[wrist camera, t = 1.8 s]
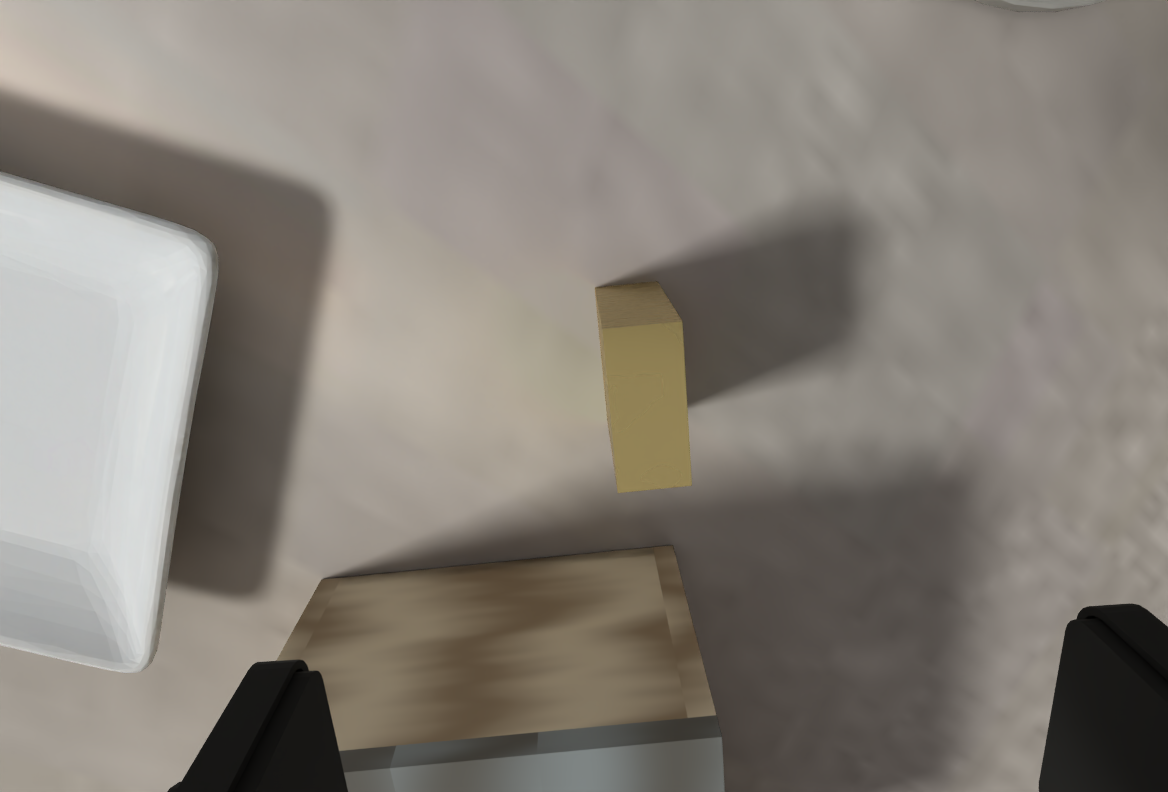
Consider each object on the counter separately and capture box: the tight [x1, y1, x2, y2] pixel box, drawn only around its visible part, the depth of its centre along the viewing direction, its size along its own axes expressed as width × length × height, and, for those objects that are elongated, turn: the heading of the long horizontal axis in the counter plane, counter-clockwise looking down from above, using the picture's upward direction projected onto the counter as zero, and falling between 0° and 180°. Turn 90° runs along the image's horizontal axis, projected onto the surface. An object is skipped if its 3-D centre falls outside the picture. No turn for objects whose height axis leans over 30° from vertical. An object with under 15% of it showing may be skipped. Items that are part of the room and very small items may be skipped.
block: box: [595, 281, 692, 493], centre depth 24 cm, size 2×5×6 cm, turn 6°
